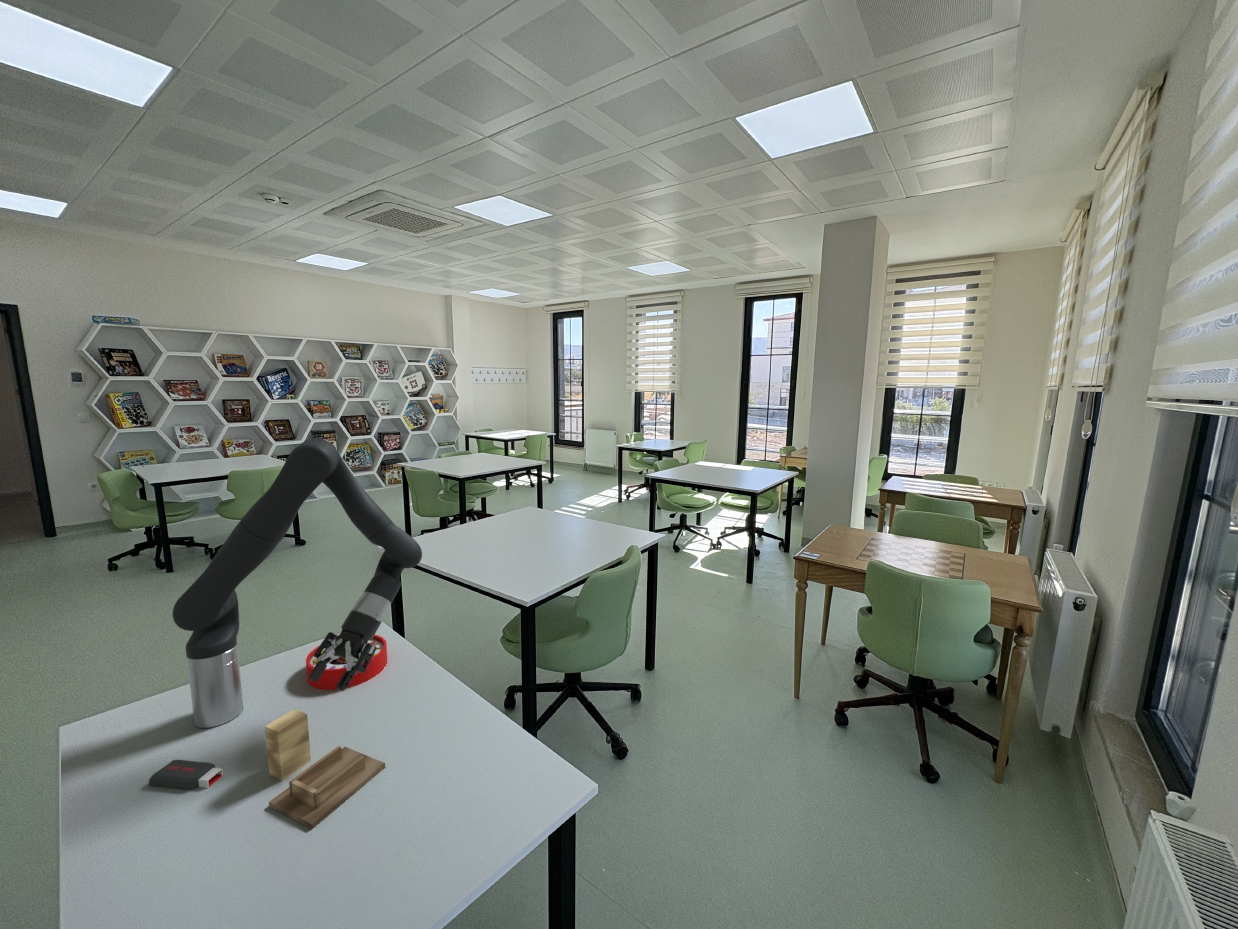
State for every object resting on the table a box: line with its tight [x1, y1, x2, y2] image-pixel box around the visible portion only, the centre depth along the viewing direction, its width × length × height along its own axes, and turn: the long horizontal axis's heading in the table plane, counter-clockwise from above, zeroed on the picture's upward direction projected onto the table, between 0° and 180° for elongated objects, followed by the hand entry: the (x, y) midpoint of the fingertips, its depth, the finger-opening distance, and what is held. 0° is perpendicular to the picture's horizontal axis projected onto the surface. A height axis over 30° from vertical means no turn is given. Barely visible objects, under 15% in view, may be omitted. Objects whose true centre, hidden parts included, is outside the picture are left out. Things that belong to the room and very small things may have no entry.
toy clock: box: [305, 634, 388, 691], centre depth 137 cm, size 20×6×20 cm
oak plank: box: [264, 708, 312, 782], centre depth 101 cm, size 4×6×11 cm, turn 157°
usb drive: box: [148, 759, 224, 791], centre depth 98 cm, size 5×12×3 cm, turn 84°
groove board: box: [268, 746, 386, 830], centre depth 97 cm, size 12×16×4 cm
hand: (325, 685), depth 108 cm, fingers open, 8 cm apart
